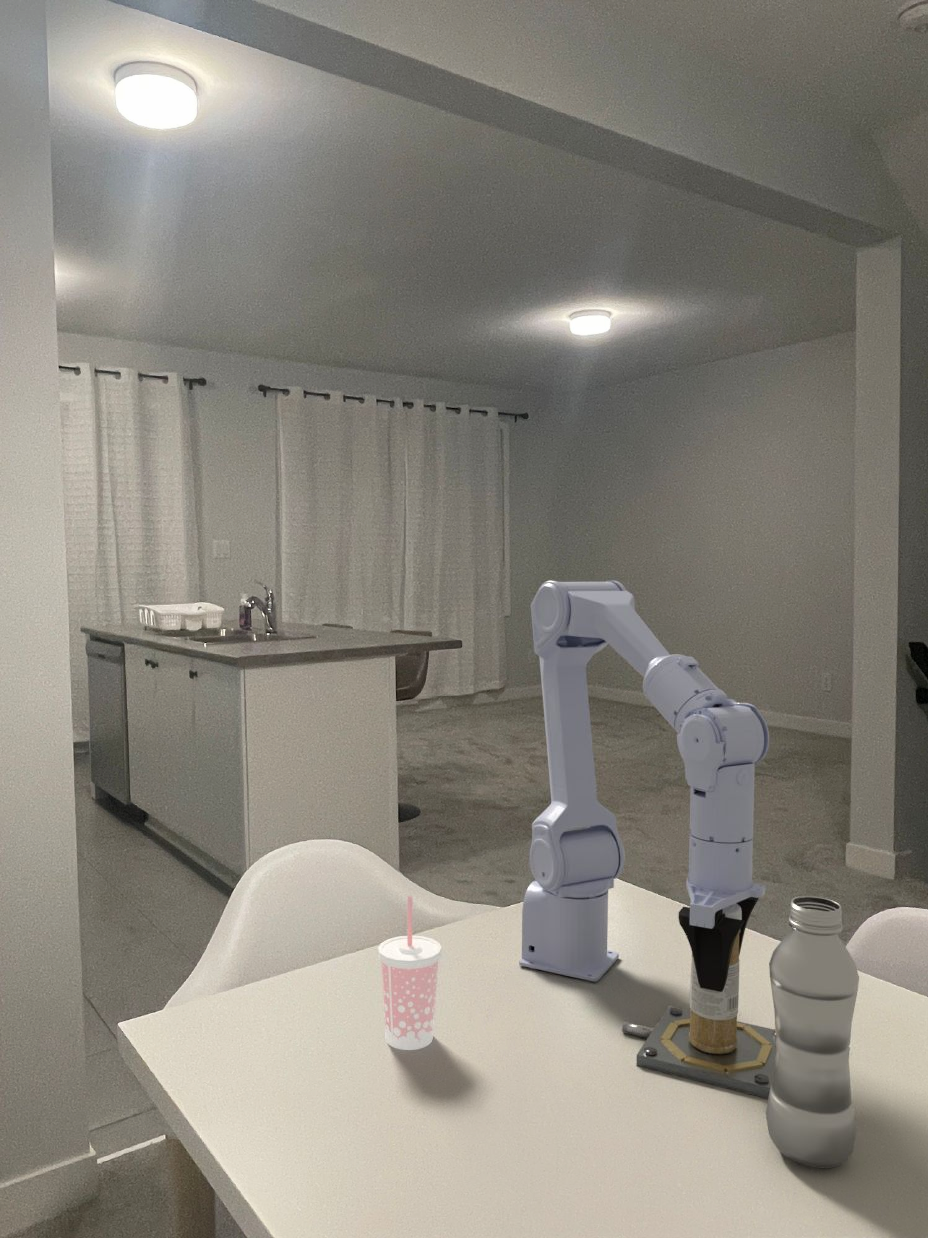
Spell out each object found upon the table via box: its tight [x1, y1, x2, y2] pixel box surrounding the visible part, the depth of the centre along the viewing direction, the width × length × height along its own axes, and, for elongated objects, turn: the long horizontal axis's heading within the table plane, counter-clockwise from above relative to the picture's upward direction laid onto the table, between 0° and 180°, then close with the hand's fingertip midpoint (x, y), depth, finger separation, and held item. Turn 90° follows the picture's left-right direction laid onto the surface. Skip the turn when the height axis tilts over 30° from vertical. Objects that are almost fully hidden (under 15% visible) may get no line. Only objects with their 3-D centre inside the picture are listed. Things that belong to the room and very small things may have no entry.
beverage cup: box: [377, 895, 443, 1051], centre depth 93 cm, size 6×6×14 cm
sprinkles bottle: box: [689, 903, 742, 1054], centre depth 90 cm, size 5×5×14 cm
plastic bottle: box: [765, 895, 860, 1169], centre depth 75 cm, size 6×7×20 cm
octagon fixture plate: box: [621, 1005, 776, 1100], centre depth 91 cm, size 15×11×1 cm
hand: (718, 978), depth 90 cm, fingers open, 4 cm apart
